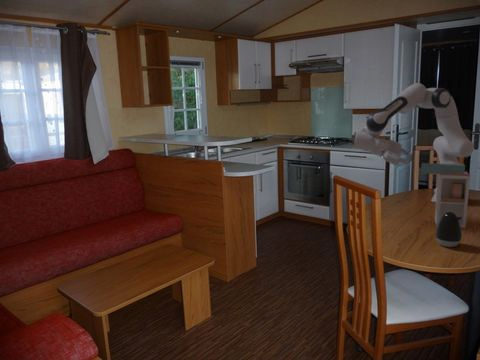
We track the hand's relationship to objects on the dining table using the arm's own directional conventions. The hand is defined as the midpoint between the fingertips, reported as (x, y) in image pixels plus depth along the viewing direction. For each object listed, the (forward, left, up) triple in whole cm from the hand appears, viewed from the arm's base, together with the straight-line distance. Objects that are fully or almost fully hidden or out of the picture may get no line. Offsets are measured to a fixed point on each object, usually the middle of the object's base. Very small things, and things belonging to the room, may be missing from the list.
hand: (408, 157), depth 213 cm
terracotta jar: (+6, +23, -19) cm, 30 cm away
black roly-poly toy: (+36, +17, -33) cm, 51 cm away
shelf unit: (+5, +21, -32) cm, 39 cm away
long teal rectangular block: (+5, +16, -6) cm, 18 cm away
